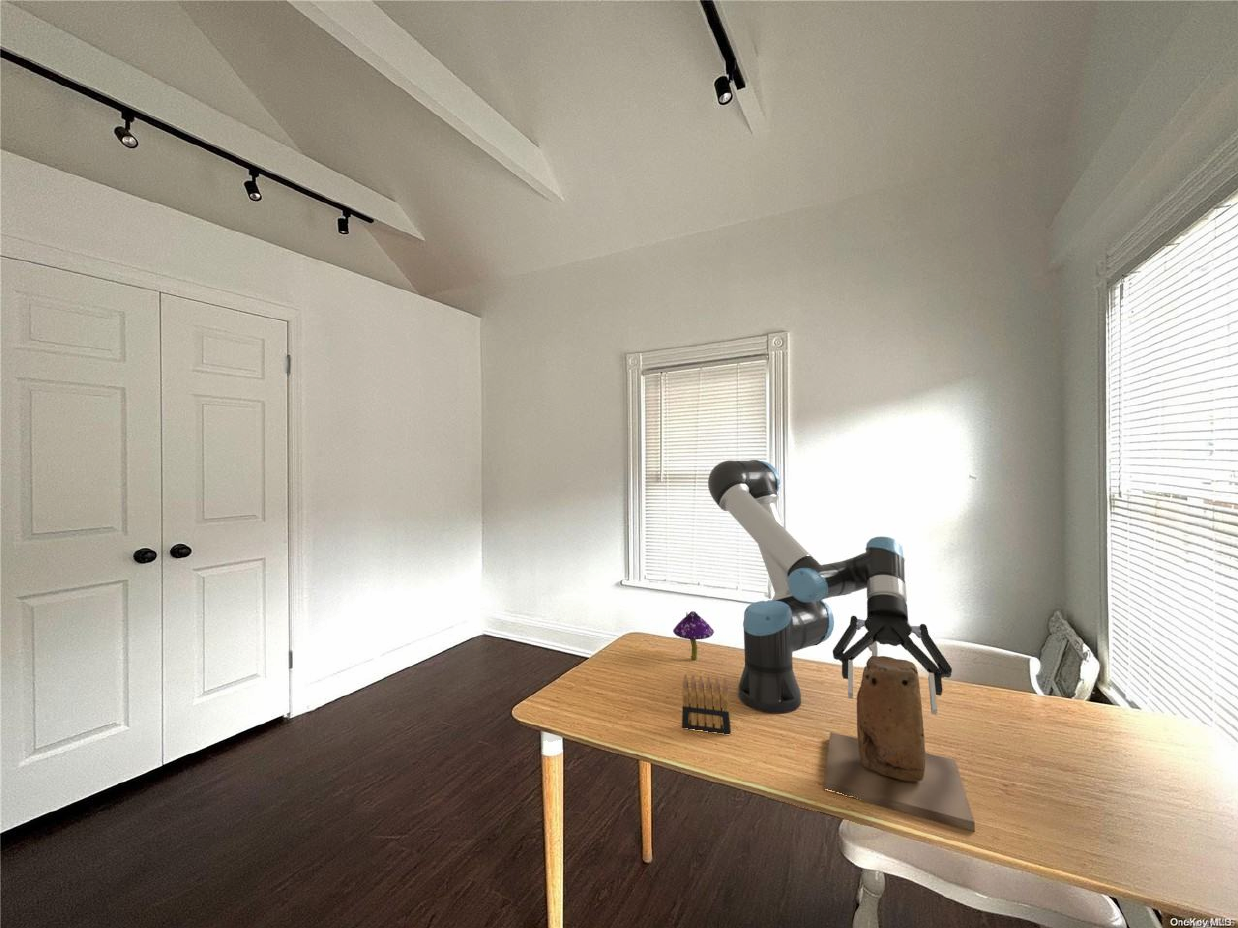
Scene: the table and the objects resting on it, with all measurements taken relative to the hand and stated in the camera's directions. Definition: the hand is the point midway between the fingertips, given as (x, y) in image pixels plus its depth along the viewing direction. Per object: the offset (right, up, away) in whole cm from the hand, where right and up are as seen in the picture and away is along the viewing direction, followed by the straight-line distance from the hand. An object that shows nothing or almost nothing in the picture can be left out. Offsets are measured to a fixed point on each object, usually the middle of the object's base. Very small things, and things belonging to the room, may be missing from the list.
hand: (890, 703), depth 88 cm
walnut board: (0, -14, 0) cm, 14 cm away
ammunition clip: (-31, -15, +17) cm, 39 cm away
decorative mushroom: (-28, -16, +56) cm, 65 cm away
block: (0, -13, 0) cm, 13 cm away
